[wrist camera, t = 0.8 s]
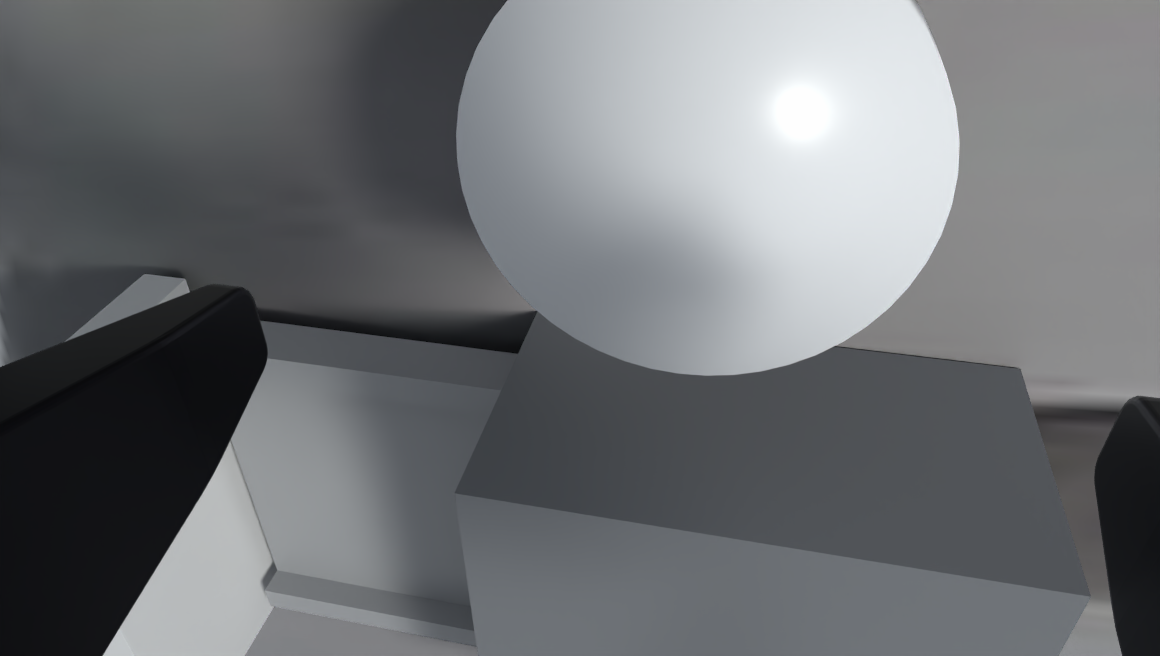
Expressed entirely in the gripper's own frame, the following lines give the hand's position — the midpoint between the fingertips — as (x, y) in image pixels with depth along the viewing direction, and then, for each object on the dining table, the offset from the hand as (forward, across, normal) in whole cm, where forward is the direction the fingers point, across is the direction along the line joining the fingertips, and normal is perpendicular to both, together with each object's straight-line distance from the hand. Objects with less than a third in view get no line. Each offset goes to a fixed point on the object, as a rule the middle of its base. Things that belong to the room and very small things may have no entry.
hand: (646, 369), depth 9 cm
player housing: (+9, -1, +12) cm, 16 cm away
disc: (+6, 0, 0) cm, 6 cm away
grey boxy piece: (+9, +8, +12) cm, 17 cm away
